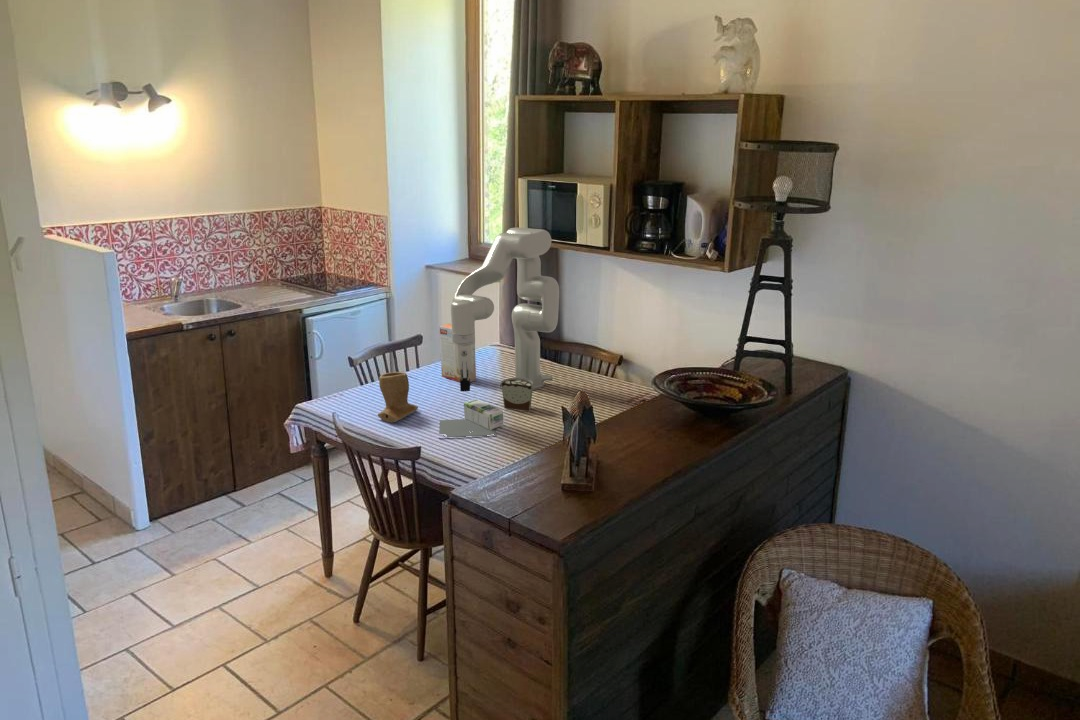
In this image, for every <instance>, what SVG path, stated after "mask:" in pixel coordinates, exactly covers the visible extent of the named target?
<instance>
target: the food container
mask: <svg viewBox="0 0 1080 720" xmlns="http://www.w3.org/2000/svg"><path fill="white" fill-rule="evenodd" d="M499 387H500V388H501V390H502V400H503V408H507V409H506V410H512V409H516V411H520V410H525V411H524V412H529V411H530V412H531V406H532V397H533V396H532V395H533V391H534V385H533V382H532V381H531V380H529V379H525V378H515V377H509V378H506V379H503V380H501V382H500V385H499ZM532 388H533V390H532Z"/></svg>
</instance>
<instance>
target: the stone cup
mask: <svg viewBox="0 0 1080 720" xmlns="http://www.w3.org/2000/svg"><path fill="white" fill-rule="evenodd" d="M378 379H379V380H378V382H379V384H378V385H379V389H380V392H381V394H382V397H383V399H384V403H385V408H384V409H383V410H382V411H380V412H379V413H378V414H377V417H378V418H380V419H381V420H383V421H385V422H386V423H387V422H388V423H396V422H398V421H400V420H402V419H404V418H405V417H408V416H409V415H411V414H413V413H414V412H416V411H417V410H418V409H419V406H417V405H414V404H411V403H409V402H408V397H409V391H410V384H409V383H410V382H409V377H408V374H407V373H406V372H404V371H394V372H393V371H392V372H387V373H384V374H381V375H380V376H379V378H378Z"/></svg>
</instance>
